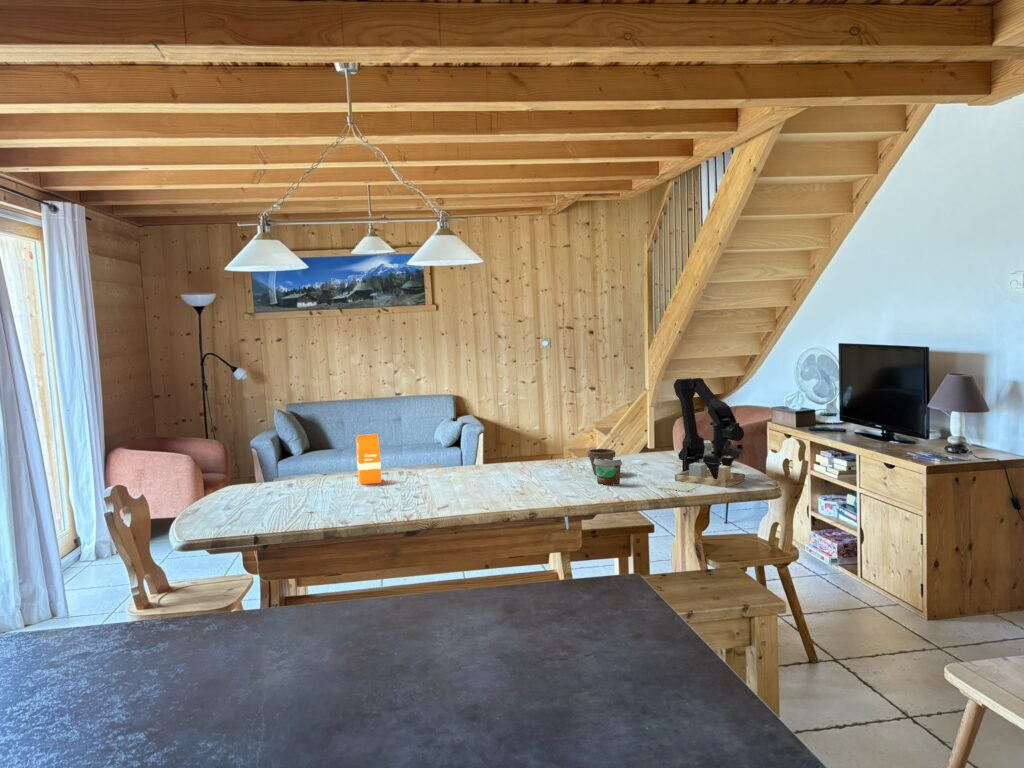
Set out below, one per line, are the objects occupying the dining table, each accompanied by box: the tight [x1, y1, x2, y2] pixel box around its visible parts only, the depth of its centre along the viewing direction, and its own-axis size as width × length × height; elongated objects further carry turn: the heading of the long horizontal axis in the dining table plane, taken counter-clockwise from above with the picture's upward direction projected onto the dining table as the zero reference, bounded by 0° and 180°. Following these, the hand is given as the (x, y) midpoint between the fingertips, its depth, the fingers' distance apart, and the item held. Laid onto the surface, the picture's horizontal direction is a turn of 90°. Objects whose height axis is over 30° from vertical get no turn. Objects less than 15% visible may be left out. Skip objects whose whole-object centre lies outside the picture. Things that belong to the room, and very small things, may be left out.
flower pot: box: [587, 448, 616, 476], centre depth 318 cm, size 12×11×10 cm
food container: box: [594, 457, 623, 486], centre depth 298 cm, size 12×6×10 cm, turn 47°
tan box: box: [713, 464, 732, 480], centre depth 292 cm, size 5×5×6 cm
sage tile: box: [660, 481, 702, 493], centre depth 288 cm, size 11×11×1 cm
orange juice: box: [356, 433, 382, 485], centre depth 319 cm, size 8×9×20 cm
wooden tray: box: [674, 469, 746, 489], centre depth 296 cm, size 22×16×3 cm
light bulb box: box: [700, 439, 713, 464], centre depth 328 cm, size 11×7×11 cm, turn 84°
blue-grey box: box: [689, 463, 708, 478], centre depth 299 cm, size 5×5×6 cm
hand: (721, 477), depth 293 cm, fingers open, 9 cm apart
